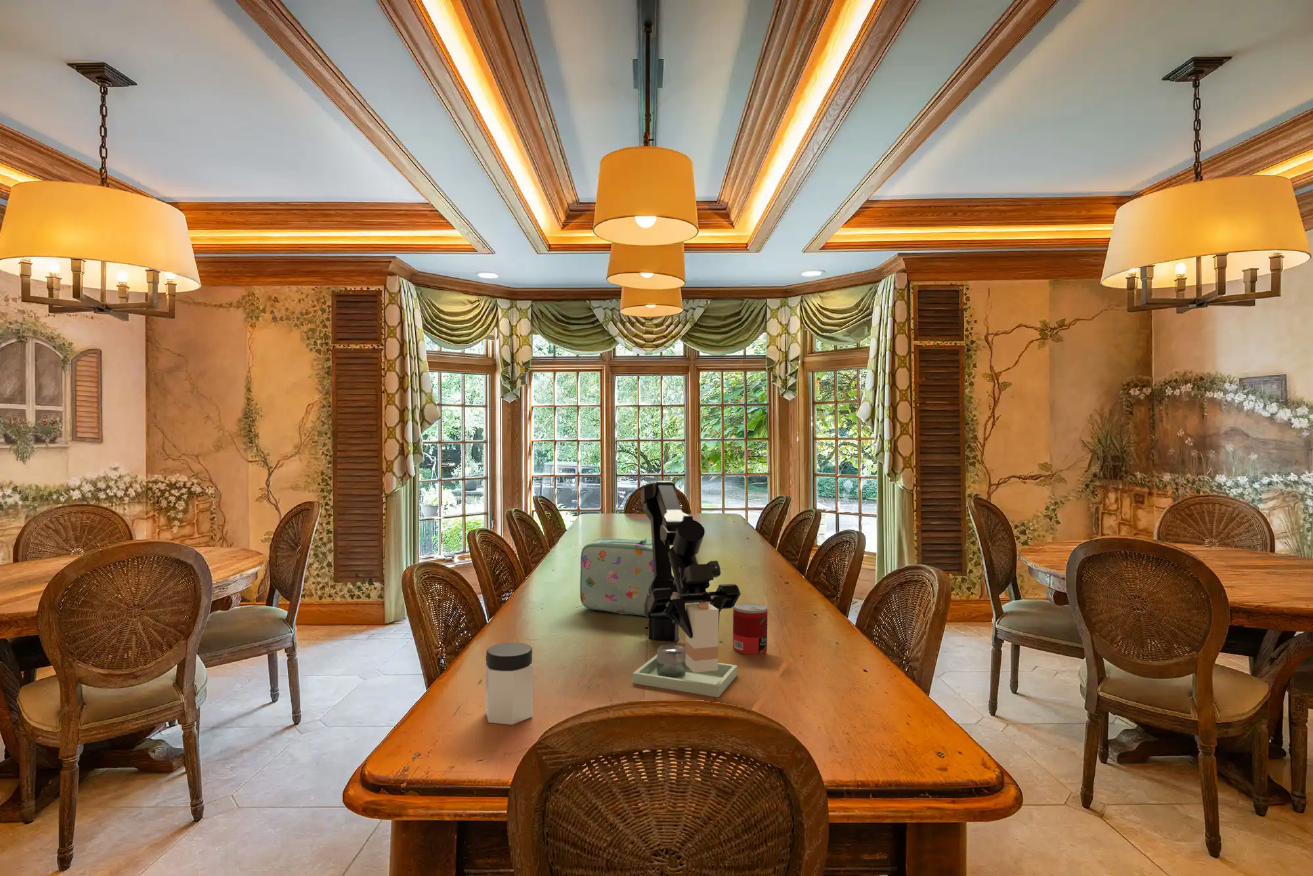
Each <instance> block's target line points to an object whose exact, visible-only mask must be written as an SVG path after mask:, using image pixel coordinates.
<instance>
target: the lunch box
mask: <svg viewBox="0 0 1313 876" xmlns="http://www.w3.org/2000/svg"><path fill="white" fill-rule="evenodd" d="M579 572H580V577H579V596H580V602H581V604H582V606H583V607H585V608H586V609H588V610H595V611H604V612H609V613H610V612H611V613H614V614H619V615H633V616H643V617H644V616H645V617H646V615H645V609H644V605H645V601H646V597H647V594H649V587H650V585H651V583H652V581H653V579H654V566H653V550H652V539H651V540H649V539H647V538H645V537H644V538H642V539H629V538H627V539H626V538H613V537H601V538H600V537H599V538H597V539H595V540H593V541H592V542H590V543H588V544H586V545H584V546H583V547H582V549H581V553H580V570H579Z"/></svg>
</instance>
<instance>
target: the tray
mask: <svg viewBox="0 0 1313 876" xmlns="http://www.w3.org/2000/svg"><path fill="white" fill-rule="evenodd" d="M737 676H738V665H736V664H731V663H723V662H718V670H714V671H705V672H695V673H694V672H693V671H692V670H691V669H690V668H689V667H688V666H687V665H686V674H685V675H684V676H682V677H679V678H670V677H664V676H659V675H658V674H657V654H655V655H654V656H653V657H651V658H650V659H649V660H648V661H646V662H645V663H644V664H643V665H641V666H640V667H639V668H637V669H636V670H635V671H633V672H632V684H634V685H640V686H641V685H642V686H645V687H646V686H647V687H653V688H658V689H666V690H671V691H675V692H676V691H677V692H683V693H688V694H694V695H695V694H696V695H702V696H708V697H715V698H719V697H720V696H721V695H722V694H723V693H724V692H725V690H727V688H728V687H729V686H730V685H731V684H732V682H733V681H734V680H735V679H736V678H737Z"/></svg>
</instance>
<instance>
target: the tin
mask: <svg viewBox="0 0 1313 876" xmlns="http://www.w3.org/2000/svg"><path fill="white" fill-rule="evenodd" d="M685 654H686V653H685V647H684V646H682V645H679V644H678V645H676V644H664V645H660V646H658V647H657V649H656V655H657V674H658V675H659V676H664V677H670V678H679V677H682V676H684V675H685V674H686V664H685Z"/></svg>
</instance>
